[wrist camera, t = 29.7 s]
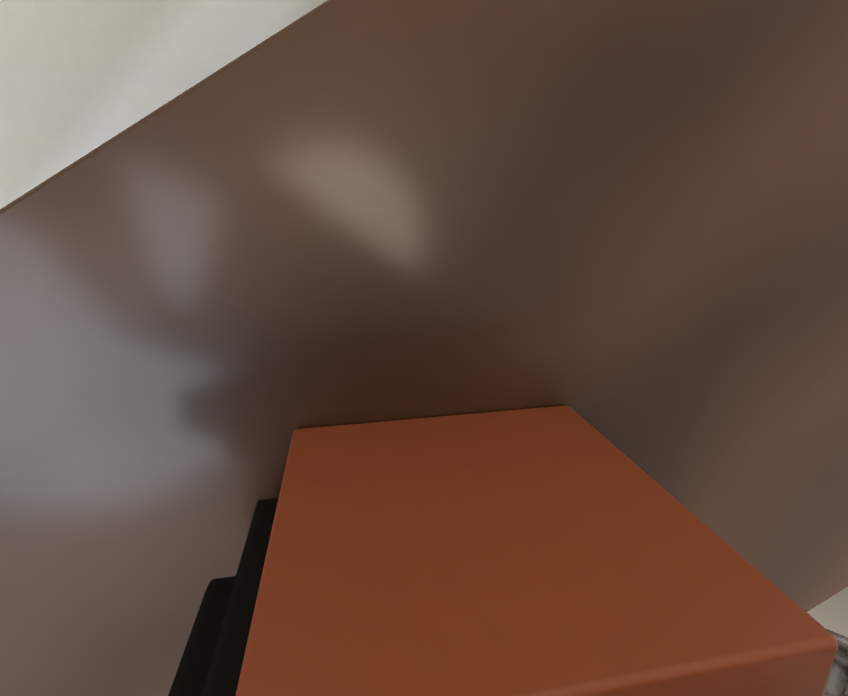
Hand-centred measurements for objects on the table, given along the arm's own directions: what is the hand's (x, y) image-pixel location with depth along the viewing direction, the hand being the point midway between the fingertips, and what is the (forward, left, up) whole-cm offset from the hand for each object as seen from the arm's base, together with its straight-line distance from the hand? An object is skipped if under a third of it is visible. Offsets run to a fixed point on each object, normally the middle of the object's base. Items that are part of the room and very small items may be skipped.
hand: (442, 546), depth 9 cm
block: (0, 0, 0) cm, 0 cm away
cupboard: (0, 0, -25) cm, 25 cm away
